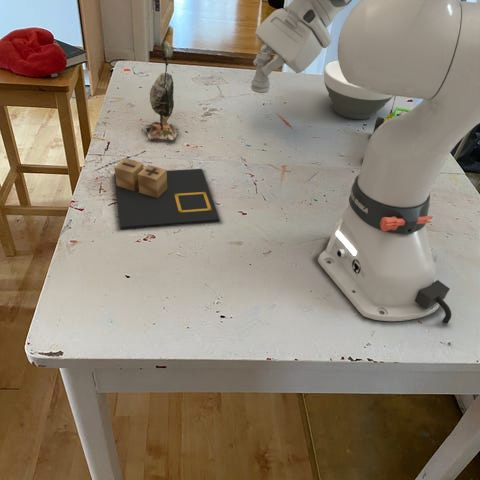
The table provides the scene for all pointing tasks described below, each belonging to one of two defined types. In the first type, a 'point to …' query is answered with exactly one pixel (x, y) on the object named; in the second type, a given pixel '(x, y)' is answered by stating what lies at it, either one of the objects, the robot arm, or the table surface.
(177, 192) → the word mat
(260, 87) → the rook chess piece
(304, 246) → the table surface
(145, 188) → the plus minus wooden blocks
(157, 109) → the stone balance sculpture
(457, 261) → the table surface
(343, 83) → the bowl
